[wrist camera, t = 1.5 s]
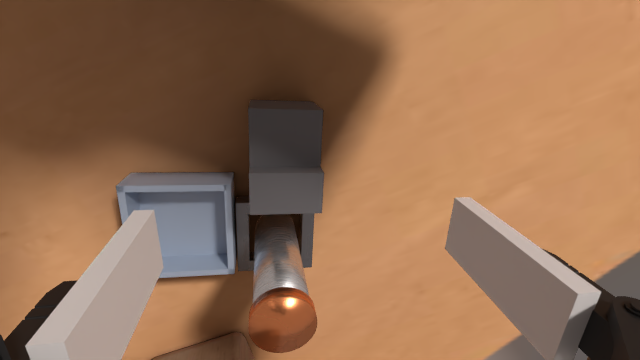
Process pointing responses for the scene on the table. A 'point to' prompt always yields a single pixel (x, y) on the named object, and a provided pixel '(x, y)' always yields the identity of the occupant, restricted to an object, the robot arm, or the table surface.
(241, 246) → the socket
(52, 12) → the table surface
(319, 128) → the dark grey stepped piece
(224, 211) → the tray
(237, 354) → the block
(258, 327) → the pin
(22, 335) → the robot arm
